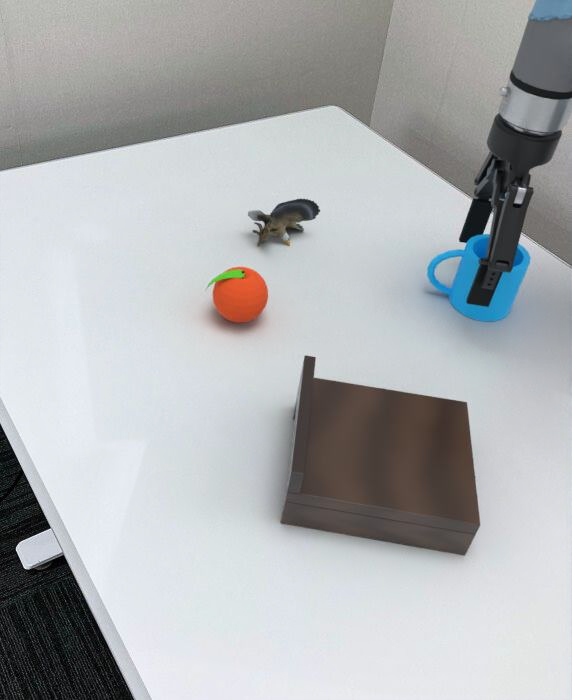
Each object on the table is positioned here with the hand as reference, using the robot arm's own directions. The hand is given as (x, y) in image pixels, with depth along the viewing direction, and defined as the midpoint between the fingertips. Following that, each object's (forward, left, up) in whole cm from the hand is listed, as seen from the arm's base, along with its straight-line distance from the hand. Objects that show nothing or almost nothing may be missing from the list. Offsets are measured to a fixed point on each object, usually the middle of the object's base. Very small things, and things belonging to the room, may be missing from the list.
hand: (472, 271), depth 102 cm
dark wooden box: (+12, +33, -5) cm, 35 cm away
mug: (0, 0, -5) cm, 5 cm away
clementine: (+30, +11, -5) cm, 32 cm away
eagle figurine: (+26, -8, -5) cm, 27 cm away
